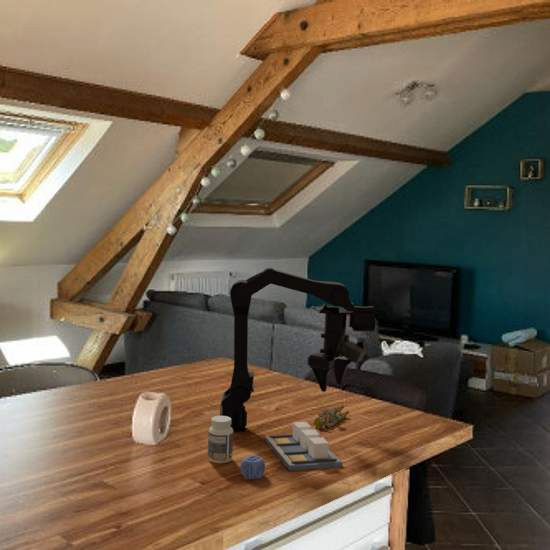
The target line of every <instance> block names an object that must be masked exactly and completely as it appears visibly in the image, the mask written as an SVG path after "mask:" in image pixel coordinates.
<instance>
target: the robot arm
mask: <svg viewBox="0 0 550 550" xmlns="http://www.w3.org/2000/svg"><path fill="white" fill-rule="evenodd" d="M269 285H275V286H278V287H281V288H284V289H285V288H286V289H289V290H292V291H296V292H300V293H304V294H307V295H311V296H314V297H316V298H318V299H320V300H322V301H323V302H325V303H323V304H322V306H320V307H319V308H318V309H317V310H318V311H317V312H318V314H322V315H323V314H324V328H323V329H324V330H323V331H324V332H323V333H320V338H322V339H323V344H322V348H320V349H319V352H316V353H312V354H310V355H309V356H308V357H307V363H306V365H307V366H308V367H309V368H310V369H311V370H312V373H313V374H314V376H315V378H316V381H317V384H318V386H319V387H320V390H321V391H320V392H323V393H326V391H327V387H328V383H329V377H330V373H332V371H333V372H334V378H335V381H336V385H338V386H341V385H342V383H343V380H344V378H345V375H346V372H347V369H348V368H349V366H350V365H351V364H352V363H354V364H358V363H359V362H362V361H363V359H364V356H365V355H367V353H368V351H367V350H368V349H367V343H366V342H365V341H363V340H358V342H355V341H354V342H353V341H351V340H350V335H349V334H347V332H346V331H347V326H348V328H351V330H352V332H361V333H374V332H375V331H376V324H377V323H376V313H375V307H374V306H371V305H368V306H361V305H360V306H357V305H354V304H355V303H353V302H352V301H351V300H350V293H349V290H348V288H347V287H346V286H345V285H344V284H343V283H341V282H336V281H328V280H327V281H324V280H323V281H322V280H313V279H309V278H307V277H303V276H299V275H296V274H291V273H289V272H285V271H280V270H278V269H274V268H273V267H267V268H264V269H263V270H262V271H260V272H258V273H256V274H254V275H252V276H250V277H249V278H247V279H239V280H236V281H234V283H233V284H232V286H231V288H230V291H229V295H230V296H229V297H230V302H231V308H232V312H233V316H234V317H233V318H234V319H233V320H234V322H233V326H234V327H233V329H234V330H233V334H234V335H233V336H234V337H233V338H234V339H233V371H232V375H231V380H230V381H231V383H230V387H229V388H228V389H227V390H225V391H224V392H223V393H222V397H221V402H220V404H219V416H227V417H230V418H231V425H230V427H231V428H232V429H233V432H241V431H243V432H245V431H247V428H246V427H247V425H248V424H247V423H248V411H247V410H246V406H245V403H246V402H248V401H249V400H250V398H251V396H252V393H254V392H255V383H254V378H255V371H250V370H249V363H248V362H249V359H248V358H249V356H248V355H249V313H250V307H251V306H250V305H251V302H252V296H253V295H254V294H257V293H258V292H260V291H262V289H264V288H266V287H267V286H269ZM326 303H327V304H330V305H331V306H328V305H327V304H326ZM340 307H341V308H343V309H344V310H340ZM347 317H348V319H347Z"/></svg>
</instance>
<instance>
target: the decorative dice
mask: <svg viewBox="0 0 550 550" xmlns="http://www.w3.org/2000/svg"><path fill="white" fill-rule="evenodd" d="M265 471H266V464H265V461H264V459H263V457H261V456H259V455H248V456H245V457H244V458H243V459H242V461H241V463H240V472H241V475H242V476H243V478H245V479H247V480H259V479H261V478H262V477H264V473H265Z"/></svg>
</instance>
